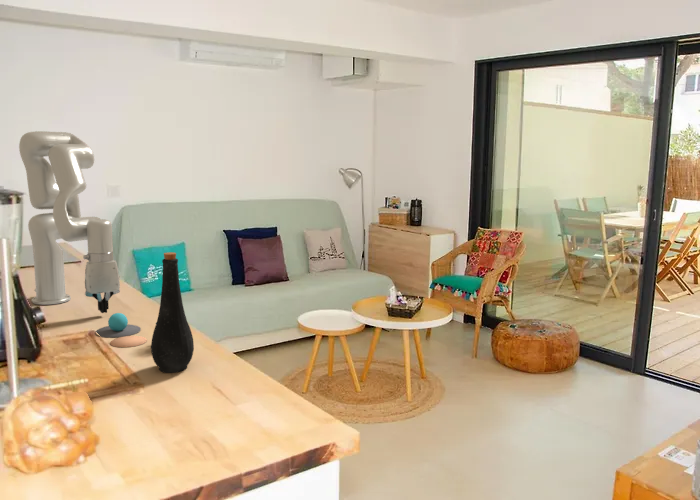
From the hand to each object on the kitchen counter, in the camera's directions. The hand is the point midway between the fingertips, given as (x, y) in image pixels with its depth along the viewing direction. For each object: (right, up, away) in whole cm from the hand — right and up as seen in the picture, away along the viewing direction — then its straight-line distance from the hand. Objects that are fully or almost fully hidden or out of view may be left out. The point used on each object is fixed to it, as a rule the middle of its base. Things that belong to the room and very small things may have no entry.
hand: (103, 311), depth 202 cm
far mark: (+17, -6, -25) cm, 31 cm away
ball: (+11, -2, -15) cm, 19 cm away
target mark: (+11, -4, -15) cm, 19 cm away
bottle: (+36, -10, -45) cm, 58 cm away
